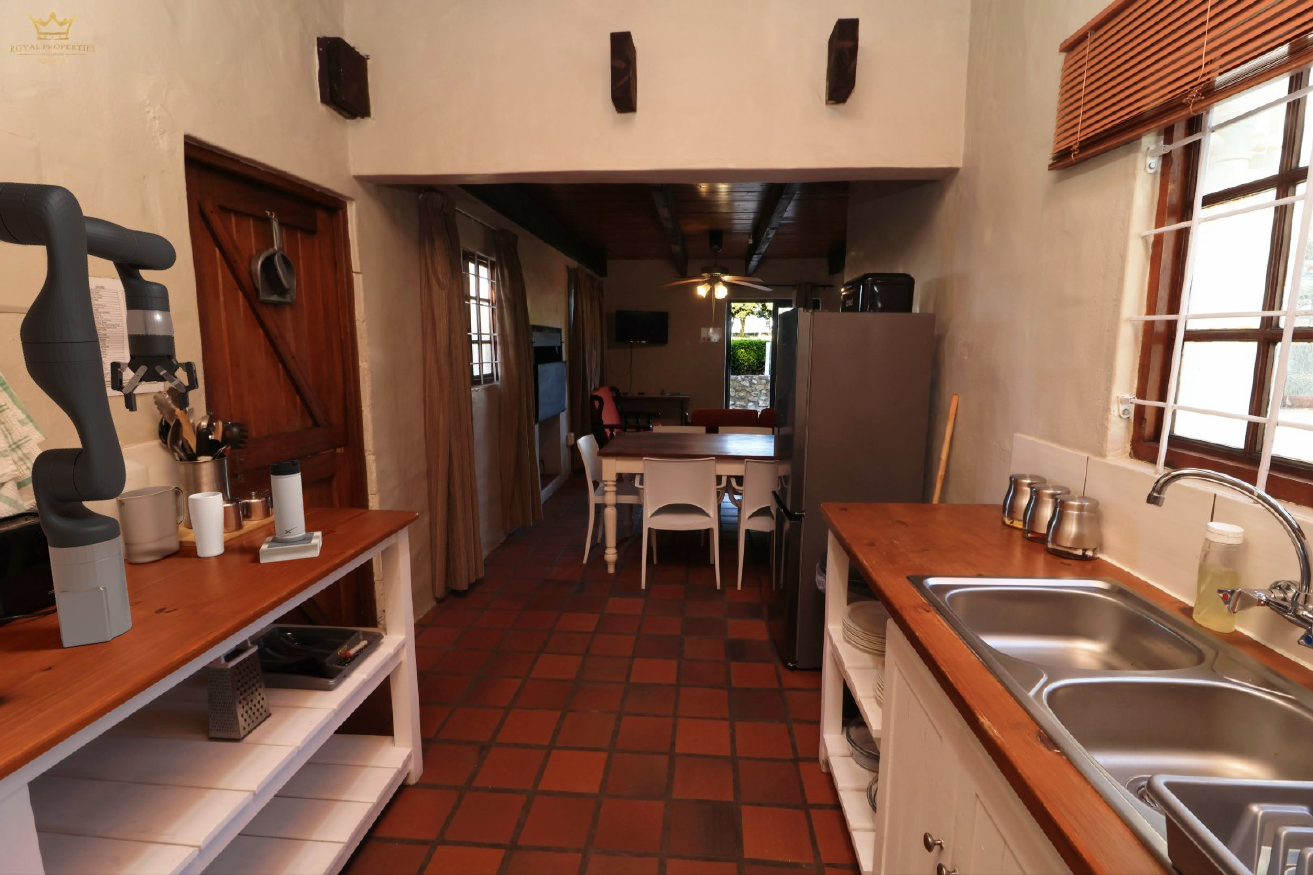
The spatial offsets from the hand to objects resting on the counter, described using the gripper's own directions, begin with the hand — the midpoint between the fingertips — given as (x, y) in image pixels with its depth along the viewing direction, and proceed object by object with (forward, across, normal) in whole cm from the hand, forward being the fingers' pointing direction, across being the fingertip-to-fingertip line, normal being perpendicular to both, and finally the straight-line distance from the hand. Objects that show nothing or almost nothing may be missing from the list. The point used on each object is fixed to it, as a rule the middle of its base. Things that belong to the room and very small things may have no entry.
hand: (158, 410), depth 130 cm
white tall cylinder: (+37, +3, +16) cm, 40 cm away
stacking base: (+37, +21, +11) cm, 44 cm away
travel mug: (+34, +21, +11) cm, 41 cm away
